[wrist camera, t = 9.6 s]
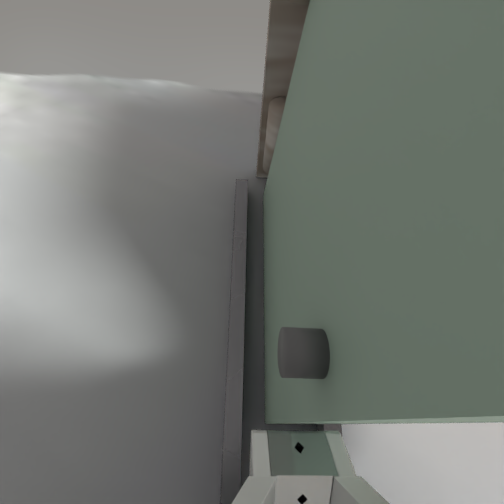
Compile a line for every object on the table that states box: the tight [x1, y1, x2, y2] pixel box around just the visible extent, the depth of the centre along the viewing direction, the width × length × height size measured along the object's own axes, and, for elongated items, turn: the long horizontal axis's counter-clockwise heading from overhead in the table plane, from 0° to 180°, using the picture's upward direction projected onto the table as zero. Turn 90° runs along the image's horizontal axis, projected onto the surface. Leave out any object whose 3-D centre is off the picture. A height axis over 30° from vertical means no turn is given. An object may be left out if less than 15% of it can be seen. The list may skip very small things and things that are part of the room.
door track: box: [220, 179, 342, 504], centre depth 14 cm, size 30×5×1 cm, turn 179°
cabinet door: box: [263, 0, 504, 424], centre depth 12 cm, size 15×4×16 cm, turn 179°
